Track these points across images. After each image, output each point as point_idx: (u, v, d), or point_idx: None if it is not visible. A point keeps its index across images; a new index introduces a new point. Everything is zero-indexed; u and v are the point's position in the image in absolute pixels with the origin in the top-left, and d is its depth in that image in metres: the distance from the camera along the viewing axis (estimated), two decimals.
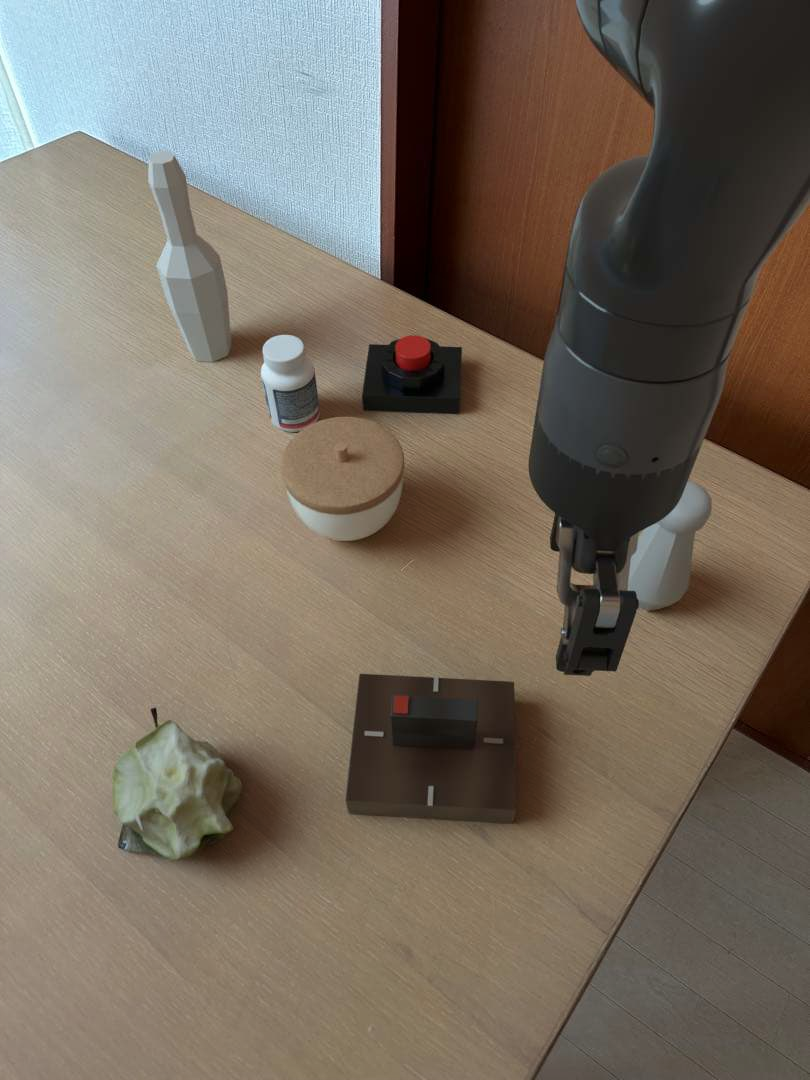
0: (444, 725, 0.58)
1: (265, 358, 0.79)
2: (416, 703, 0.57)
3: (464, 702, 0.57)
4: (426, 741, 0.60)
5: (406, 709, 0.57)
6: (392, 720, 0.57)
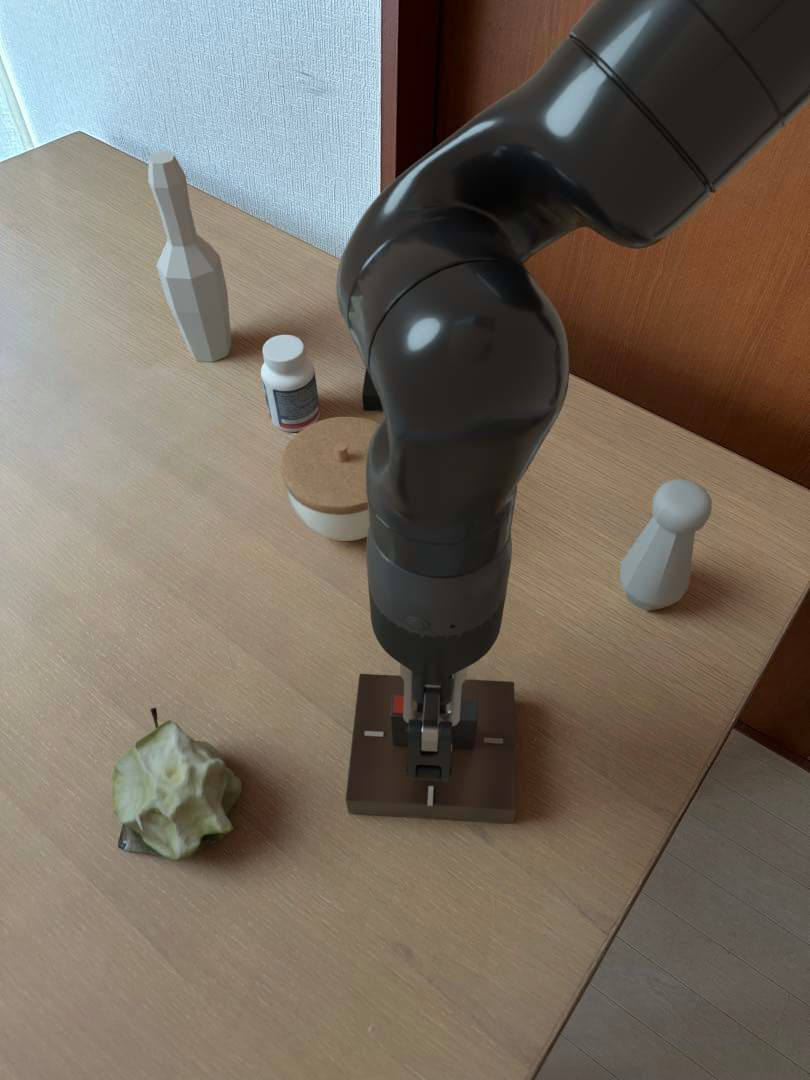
0: None
1: (265, 358, 0.79)
2: None
3: (464, 702, 0.57)
4: None
5: None
6: (392, 720, 0.57)
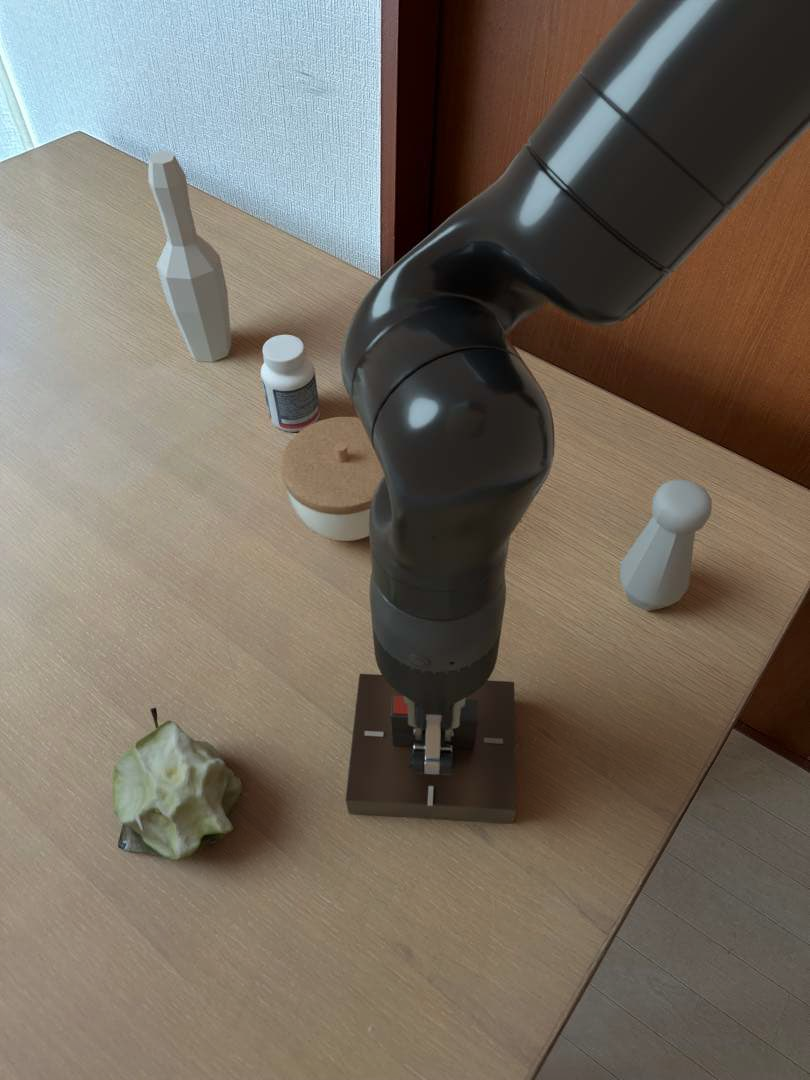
0: None
1: (265, 358, 0.79)
2: None
3: None
4: None
5: (406, 709, 0.57)
6: (392, 720, 0.57)
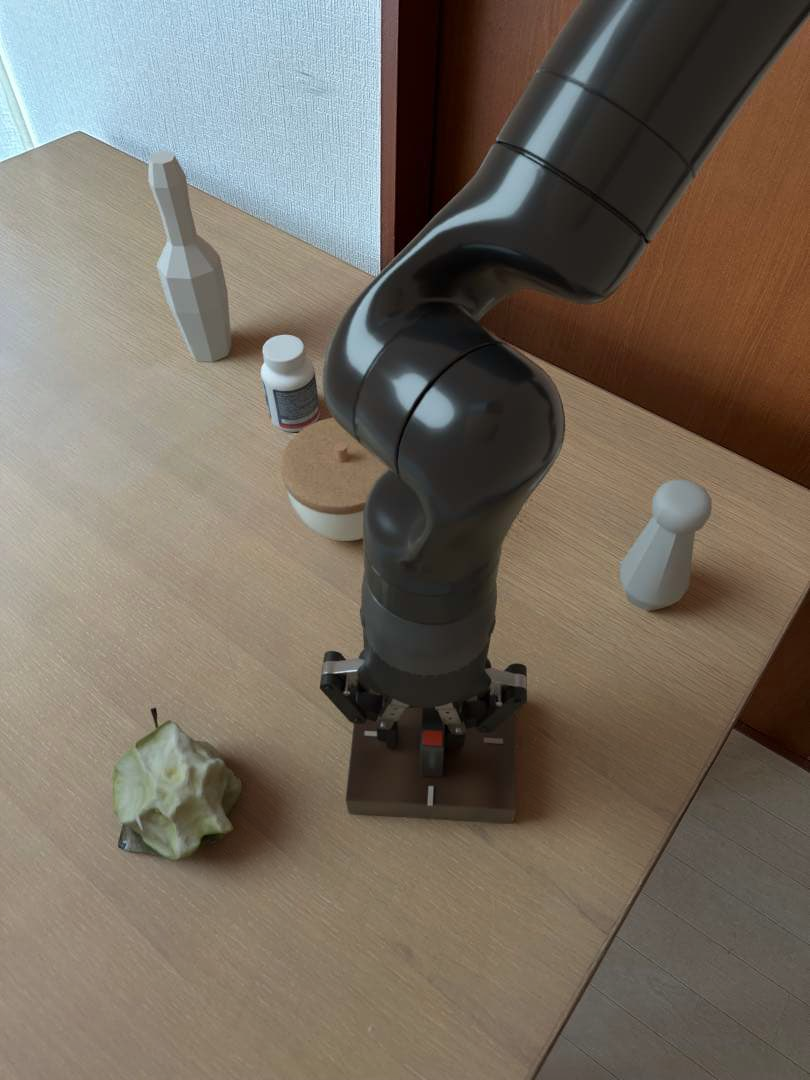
0: None
1: (265, 358, 0.79)
2: (430, 724, 0.56)
3: None
4: None
5: (438, 732, 0.56)
6: None
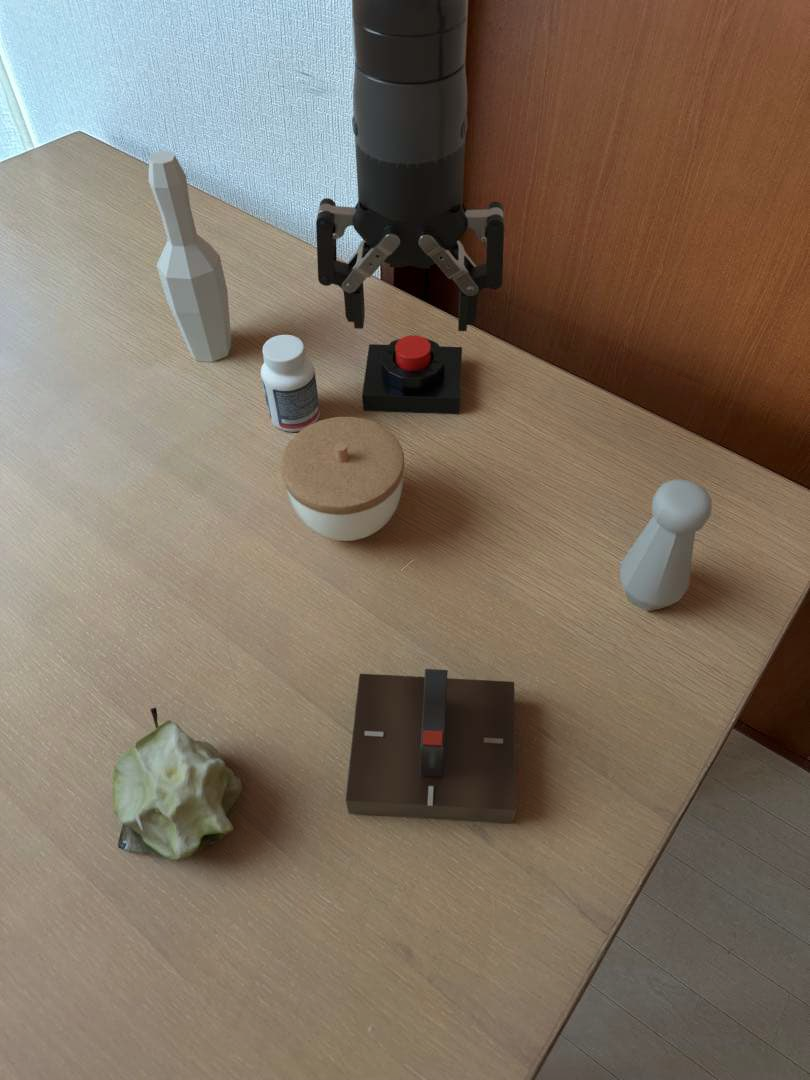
0: None
1: (265, 358, 0.79)
2: (430, 724, 0.56)
3: (428, 680, 0.58)
4: None
5: (438, 732, 0.56)
6: None
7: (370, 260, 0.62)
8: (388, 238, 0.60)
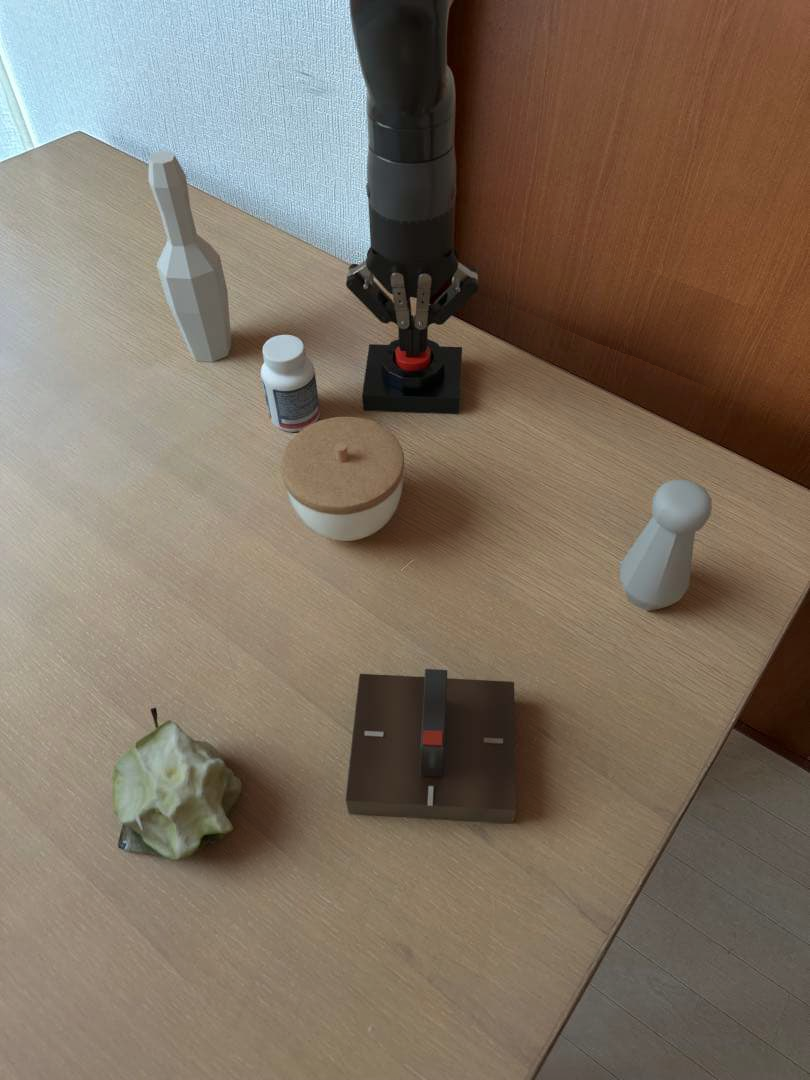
0: None
1: (265, 358, 0.79)
2: (430, 724, 0.56)
3: (428, 680, 0.58)
4: None
5: (438, 732, 0.56)
6: None
7: (397, 299, 0.78)
8: (393, 278, 0.76)
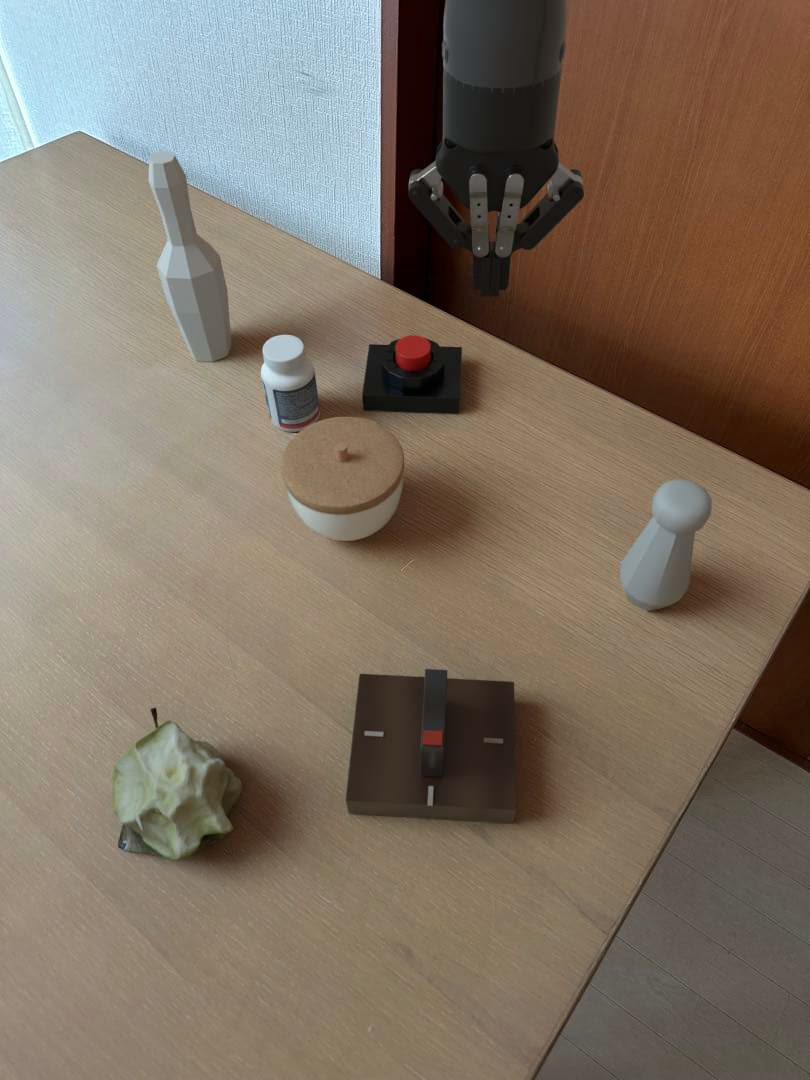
0: None
1: (265, 358, 0.79)
2: (430, 724, 0.56)
3: (428, 680, 0.58)
4: None
5: (438, 732, 0.56)
6: None
7: (476, 213, 0.59)
8: (473, 181, 0.57)
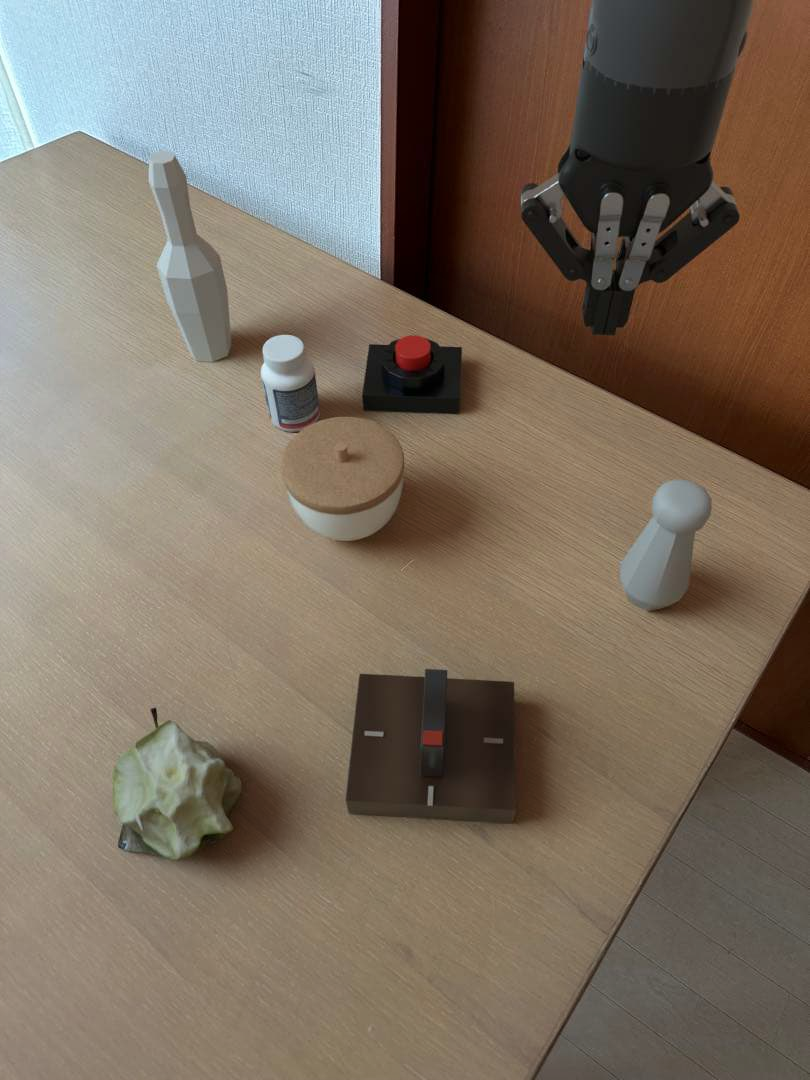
0: None
1: (265, 358, 0.79)
2: (430, 724, 0.56)
3: (428, 680, 0.58)
4: None
5: (438, 732, 0.56)
6: None
7: (603, 239, 0.48)
8: (606, 201, 0.46)
